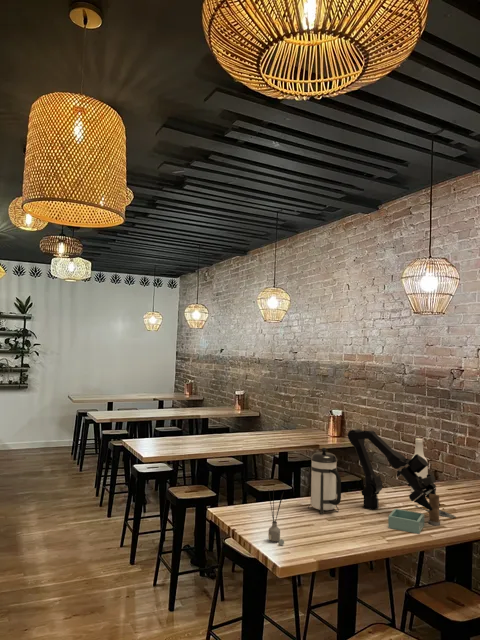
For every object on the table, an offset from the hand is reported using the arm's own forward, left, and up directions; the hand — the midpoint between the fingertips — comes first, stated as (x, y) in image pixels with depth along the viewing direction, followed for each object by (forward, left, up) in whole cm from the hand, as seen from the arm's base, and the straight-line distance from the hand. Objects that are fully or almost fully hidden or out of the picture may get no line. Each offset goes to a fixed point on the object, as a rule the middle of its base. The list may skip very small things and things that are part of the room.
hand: (435, 507), depth 219 cm
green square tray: (-11, -11, -7) cm, 17 cm away
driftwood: (-3, +19, -8) cm, 21 cm away
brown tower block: (-1, 0, -7) cm, 7 cm away
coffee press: (-49, -11, -7) cm, 51 cm away
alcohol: (-16, +49, -7) cm, 52 cm away
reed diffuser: (-52, -59, -7) cm, 79 cm away
